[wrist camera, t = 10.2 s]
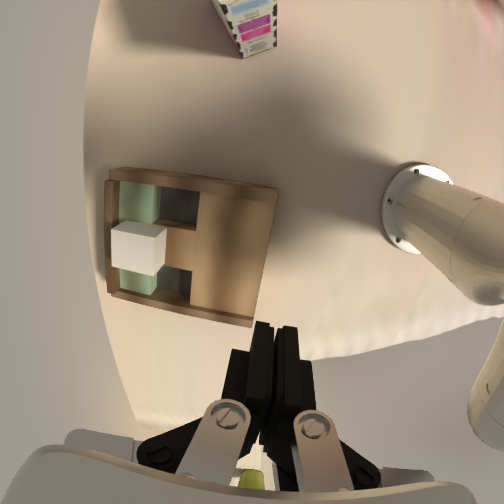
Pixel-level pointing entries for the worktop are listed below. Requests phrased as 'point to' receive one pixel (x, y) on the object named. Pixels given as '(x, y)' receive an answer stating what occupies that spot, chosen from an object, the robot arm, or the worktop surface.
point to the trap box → (193, 241)
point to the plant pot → (252, 480)
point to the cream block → (138, 247)
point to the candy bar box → (249, 24)
